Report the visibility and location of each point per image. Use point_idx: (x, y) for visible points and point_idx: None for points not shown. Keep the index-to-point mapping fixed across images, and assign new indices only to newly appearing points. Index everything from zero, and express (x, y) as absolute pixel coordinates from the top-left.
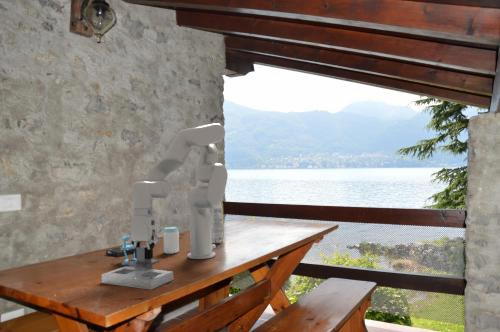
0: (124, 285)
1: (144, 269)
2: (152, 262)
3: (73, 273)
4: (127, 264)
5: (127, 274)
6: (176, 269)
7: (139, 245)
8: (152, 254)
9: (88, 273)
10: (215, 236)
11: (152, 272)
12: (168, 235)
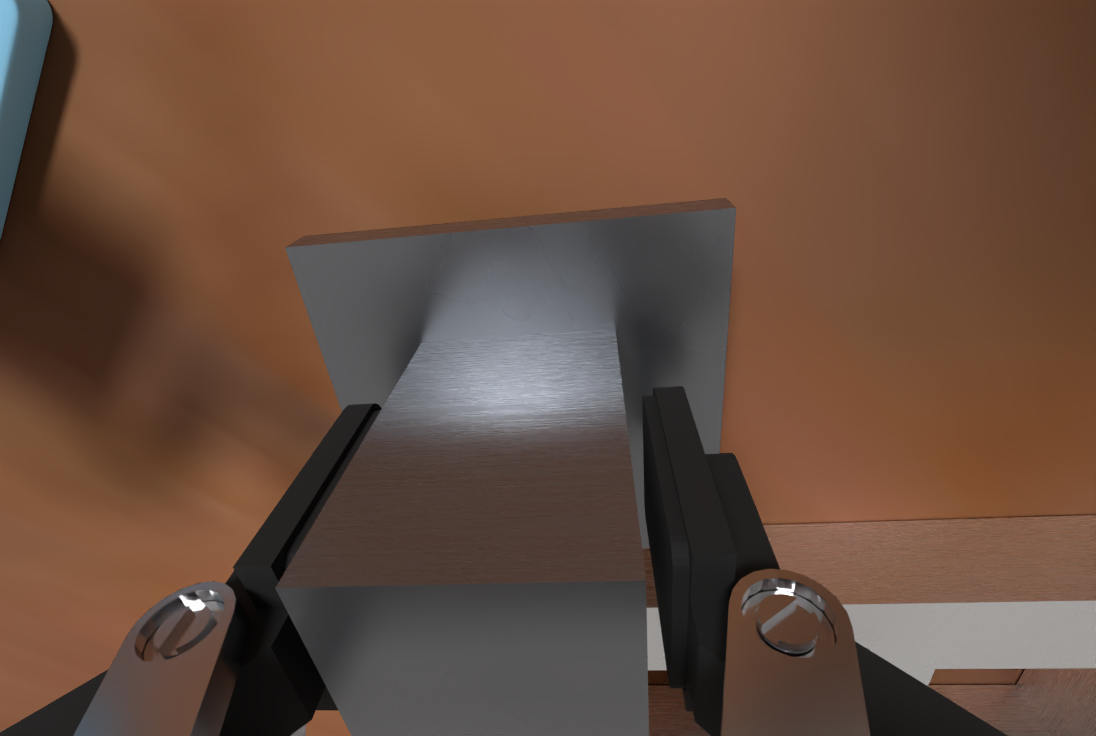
0: None
1: None
2: (716, 403)
3: (39, 650)
4: (6, 208)
5: None
6: (1063, 78)
7: (245, 669)
8: (739, 481)
9: (137, 618)
10: None
11: (975, 661)
12: None
